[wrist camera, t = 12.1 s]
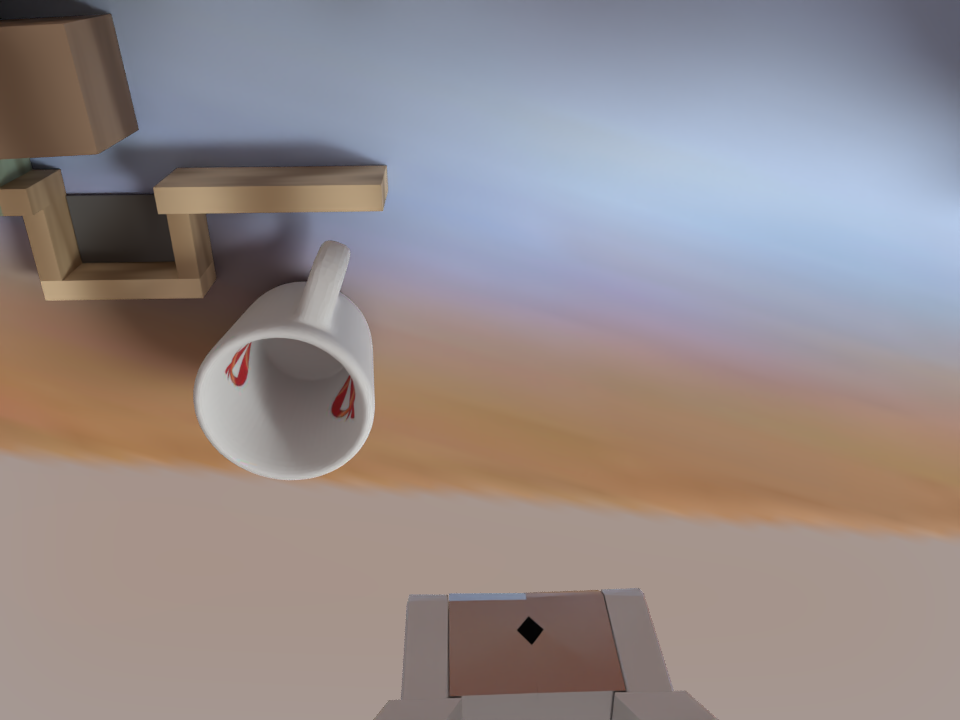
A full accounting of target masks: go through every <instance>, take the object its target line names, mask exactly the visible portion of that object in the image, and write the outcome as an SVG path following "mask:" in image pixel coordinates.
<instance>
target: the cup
mask: <svg viewBox="0 0 960 720" xmlns="http://www.w3.org/2000/svg"><path fill="white" fill-rule="evenodd" d="M349 259H350V249H349V248H348V247H347V246H346V245H343V244H341V243H339V242H335V241H325V242H324V243H323V244H322V245H321V247H320V249H319V251H318V253H317V256H316V258H315V261H314V263H313V266H312V269H311V271H310V274H309V277H308V280H307V282H293V283H287V284H283V285H281V286H278V287H275V288H273V289H271V290H270V291H268V292H266V293H265V294H263V295H262V296H260V297H259V298H258V299H257V300H256V301H255V302H254V303H253V304H252V305H251V306H250V307H249V308H248V309H247V310H246V311H245V312H244V313H243V315H242V316H241V317H240V318H239V319H238V320H237V321H236V322H235V324H234V325H233V326H232V327H231V328H230V329H229V330H228V331H227V333H226V334H225V335H224V336H223V337H222V338H221V339H220V340H219V341H218V343H217V344H216V345H215V346H214V347H213V348H212V349H211V351H210V352H209V353H208V354H207V356H206V357H205V359H204V360H203V362H202V364H201V366H200V368H199V370H198V373H197V376H196V379H195V385H194V407H195V412H196V416H197V419H198V422H199V424H200V427H201V429H202V430H203V432H204V434H205V435H206V437H207V438H208V440H209V441H210V442H211V444H212V445H213V446H214V447H215V448H216V449H217V450H218V451H219V452H220V453H221V454H222V455H223V456H224V457H226V458H227V459H228V460H230V461H231V462H233V463H234V464H236V465H237V466H239V467H241V468H243V469H245V470H247V471H249V472H252V473H255V474H257V475H261V476H264V477H268V478H274V479H281V480H301V479H309V478H314V477H318V476H321V475H324V474H327V473H329V472H331V471H333V470H335V469H337V468H339V467H341V466H342V465H344V464H345V463H346V462H348V461H349V460H350V459H351V458H352V457H353V456H354V455H355V454H356V453H357V452H358V451H359V450H360V448H361V447H362V446H363V444H364V443H365V441H366V439H367V437H368V435H369V433H370V430H371V427H372V424H373V419H374V412H375V398H374V371H373V347H372V338H371V333H370V330H369V327H368V324H367V322H366V320H365V318H364V316H363V314H362V313H361V311H360V310H359V308H358V307H357V306H356V305H355V304H354V303H353V302H352V301H351V300H350V299H349V298H348V297H347V296H345V295H344V294H342V293H341V292H340V289H341V286H342V282H343V279H344V276H345V273H346V269H347V266H348V262H349Z"/></svg>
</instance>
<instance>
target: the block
mask: <svg viewBox="0 0 960 720" xmlns="http://www.w3.org/2000/svg"><path fill="white" fill-rule="evenodd" d="M138 130H139V129H138V125H137V120H136V116H135V112H134V108H133V104H132V99H131V95H130V91H129V87H128V83H127V78H126V74H125V70H124V66H123V62H122V57H121V53H120V49H119V45H118V41H117V36H116V32H115V28H114V24H113V20H112V15H111V14H100V15H81V16H63V17H44V18H25V19H6V20H0V160H1V159H19V158H38V157H56V156H74V155H92V154H99V153H101V152H103V151H104V150H106V149H108V148H109V147H111V146H113V145H114V144H116V143H118V142H119V141H121V140H123V139H124V138H126V137H128V136H129V135H131V134H133V133H134V132H136V131H138Z"/></svg>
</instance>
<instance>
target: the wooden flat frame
mask: <svg viewBox="0 0 960 720" xmlns="http://www.w3.org/2000/svg"><path fill="white" fill-rule="evenodd" d="M153 190H154V194H111V195H66V191H65V186H64V182H63V178H62V174H61V170H60V169H40V170H33V169H32V165H31V162H30V158H19V159H1V160H0V216H23V219H24V223H25V227H26V230H27V234H28V238H29V241H30V245H31V249H32V252H33V256H34V259H35V263H36V267H37V270H38V274H39V278H40V281H41V285H42V289H43V292H44V296H45V300H46V301H52V300H113V299H174V298H204V296H205V295H206V293H207V292H208V290H209V289H210V287H211V286H212V285H213V283H214V282H215V280H216V273H215V267H214V261H213V255H212V249H211V243H210V237H209V231H208V225H207V219H206V213H277V212H353V211H383V208H384V204H385V200H386V196H387V192H388V182H387V166H301V167H214V168H176V169H175V170H174V171H173V172H171V173H170V174H169V175H168V176H167V177H165V178H164V179H163V180H162V181H160V182H159V183H158V184H157V185H156V186H154V187H153Z"/></svg>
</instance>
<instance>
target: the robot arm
mask: <svg viewBox="0 0 960 720" xmlns="http://www.w3.org/2000/svg"><path fill="white" fill-rule="evenodd" d="M373 720H718V719H717V718H716V717H715V716H714V715H713V714H712V713H710V712H709V711H708V710H707V709H706V708H705V707H704V706H703V705H701V704H700V703H699V702H698V701H697V700H695V698H693V697H692V696H691V695H690V694H689V693H688V692H687V691H674V690H673V687H672V684H671V680H670V677H669V674H668V670H667V667H666V664H665V661H664V658H663V654H662V651H661V648H660V644H659V641H658V638H657V635H656V631H655V628H654V625H653V622H652V619H651V616H650V612H649V609H648V606H647V602H646V599H645V596H644V593H643V592H642V591H641V590H640V589H639V588H630V589H607V590H606V589H605V590H601V591H599V590H587V591H563V592H534V593H502V594H501V593H493V594H492V593H489V594H488V593H481V594H449V601H448V595H409V598H408V602H407V610H406V627H405V642H404V659H403V674H402V690H401V700H389V701H388V702H387V703H386V705H385V706H384V707H383V708H382V710H381V711H380V712H379V713H378V714H377V716H376V717H375V718H374V719H373Z"/></svg>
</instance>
